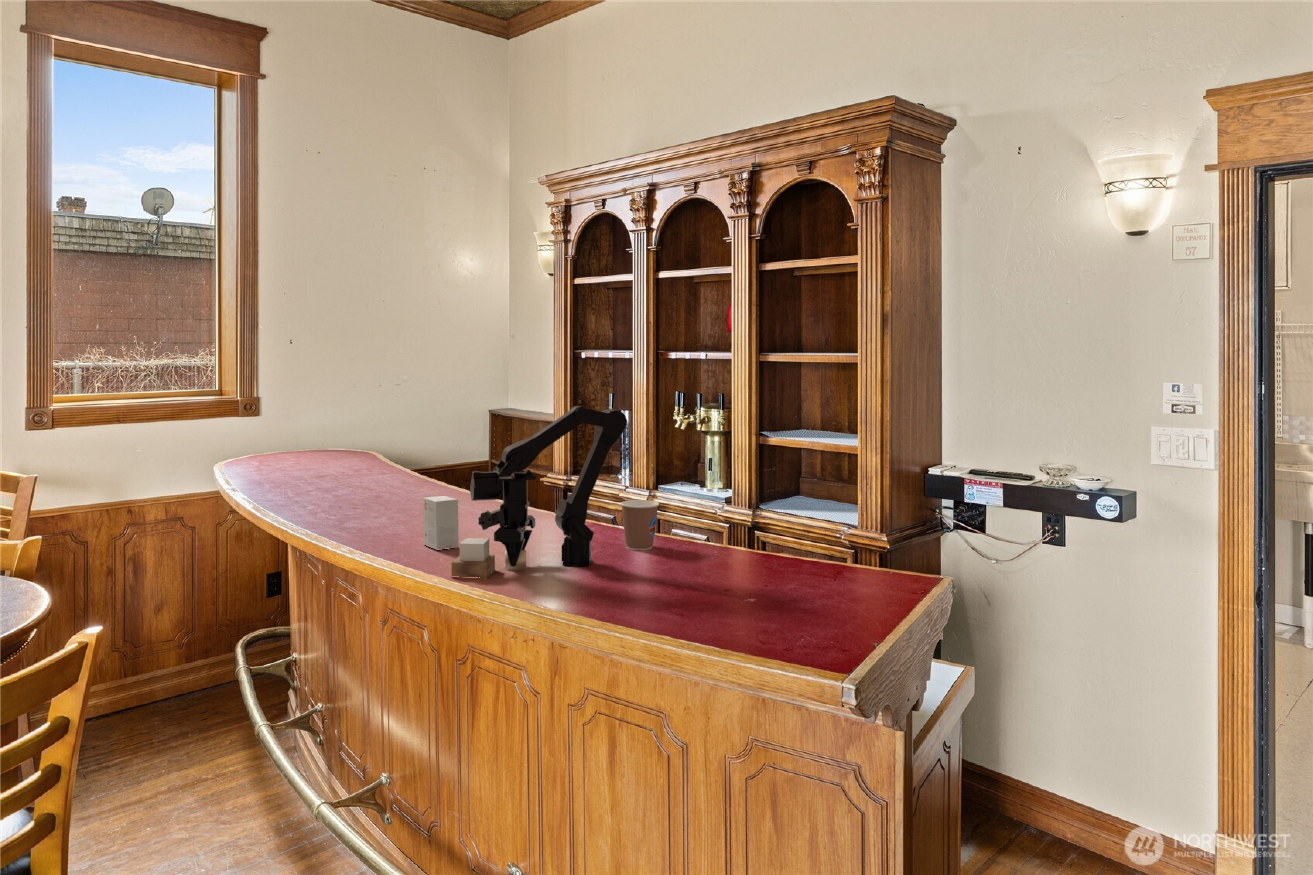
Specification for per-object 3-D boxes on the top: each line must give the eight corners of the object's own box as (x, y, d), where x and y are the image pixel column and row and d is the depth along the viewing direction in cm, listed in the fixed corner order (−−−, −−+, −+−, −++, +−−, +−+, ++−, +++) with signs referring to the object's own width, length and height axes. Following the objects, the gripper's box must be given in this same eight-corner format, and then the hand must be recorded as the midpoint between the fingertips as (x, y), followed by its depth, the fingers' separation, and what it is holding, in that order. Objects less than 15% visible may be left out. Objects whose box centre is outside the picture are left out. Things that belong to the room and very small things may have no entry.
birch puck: (528, 565, 201) (527, 549, 201) (523, 570, 196) (523, 554, 196) (507, 565, 201) (507, 548, 201) (502, 570, 196) (502, 553, 196)
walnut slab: (494, 571, 196) (494, 554, 196) (486, 580, 189) (486, 562, 188) (461, 570, 197) (461, 554, 196) (451, 579, 189) (451, 562, 188)
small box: (459, 548, 218) (458, 499, 217) (436, 551, 214) (435, 501, 213) (445, 542, 225) (445, 495, 224) (423, 546, 221) (422, 497, 220)
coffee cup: (658, 552, 217) (659, 506, 216) (618, 551, 217) (619, 506, 216) (659, 543, 227) (659, 500, 226) (621, 543, 228) (621, 499, 227)
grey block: (489, 555, 195) (489, 538, 195) (483, 561, 190) (483, 543, 189) (466, 555, 195) (465, 538, 195) (459, 560, 190) (459, 543, 190)
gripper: (491, 492, 207) (491, 553, 208) (471, 504, 188) (471, 572, 190) (535, 492, 206) (535, 554, 208) (520, 505, 188) (520, 573, 189)
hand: (515, 563), depth 199 cm, fingers closed on birch puck, 5 cm apart
